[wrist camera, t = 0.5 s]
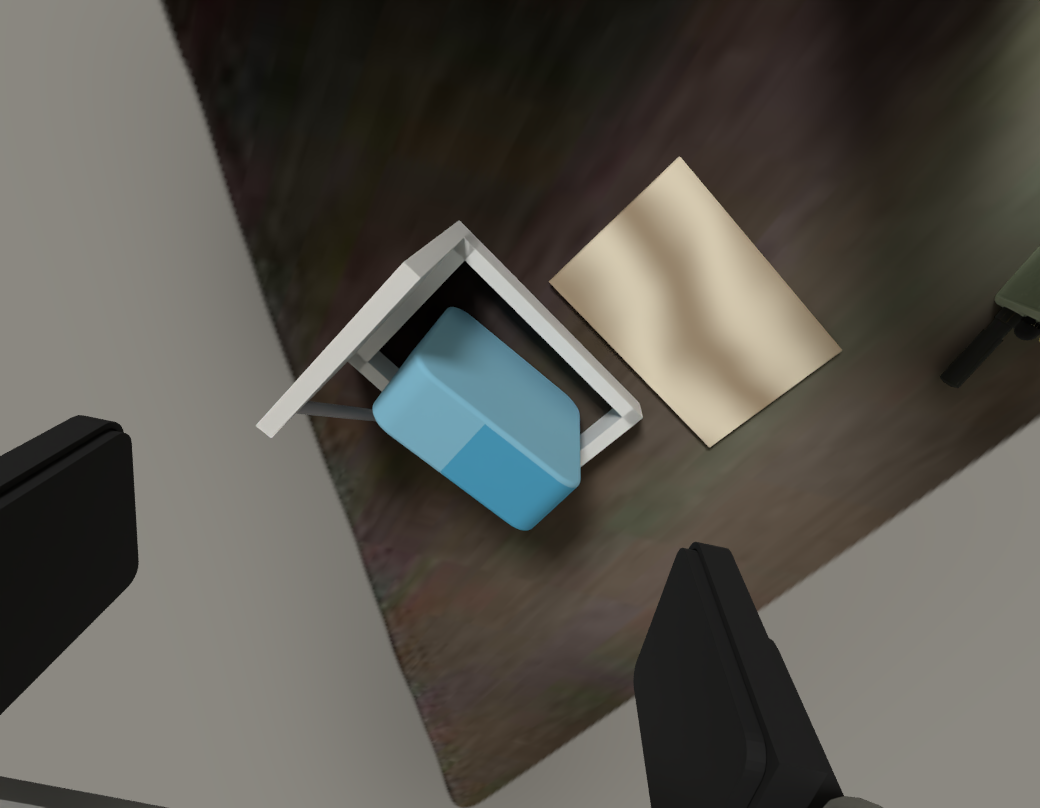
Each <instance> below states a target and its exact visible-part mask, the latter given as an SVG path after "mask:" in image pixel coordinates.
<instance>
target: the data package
mask: <svg viewBox="0 0 1040 808" xmlns="http://www.w3.org/2000/svg"><path fill="white" fill-rule="evenodd" d="M372 410H373V415H374V417H375V420H376V421H377V423H378V424H379V426H380V427H381V428H382V429H383V430H384V431H385V432H386V433H387V434H389V435H390V436H391V437H393V438H394V439H395V440H397V441H398V442H399V443H401V444H402V445H403V446H405V447H406V448H407V449H409V450H410V451H411V452H413V453H414V454H415V455H417V456H418V457H419V458H421V459H422V460H424V461H425V462H426V463H428V464H429V465H430V466H432V467H433V468H434V469H436V470H437V471H438V472H440V473H441V474H442V475H444V476H445V477H446V478H448V479H449V480H450V481H452V482H453V483H454V484H456V485H457V486H458V487H460V488H461V489H462V490H464V491H465V492H466V493H468V494H469V495H470V496H472V497H473V498H475V499H476V500H477V501H479V502H480V503H481V504H483V505H484V506H485V507H487V508H488V509H489V510H491V511H492V512H493V513H495V514H496V515H497V516H499V517H500V518H501V519H503V520H504V521H505V522H507V523H508V524H509V525H511V526H512V527H514V528H516V529H519V530H524V531H526V530H530V529H532V528H533V527H534V526H535V525H537V524H538V523H539V522H540V521H541V520H542V519H543V518H544V517H545V516H546V515H547V514H548V513H550V512H551V511H552V510H553V509H554V508H555V507H556V506H557V505H558V504H559V503H560V502H561V501H563V500H564V499H565V498H566V497H567V496H568V495H569V494H570V493H571V492H572V491H573V490H574V489H576V488H577V487H578V486H579V484H580V481H581V468H580V414H579V410H578V408H577V407H576V405H575V404H574V402H573V401H572V400H571V399H570V398H569V397H568V396H567V395H566V394H565V393H564V392H563V391H561V390H560V389H559V388H558V387H557V386H555V385H554V384H553V383H552V382H551V381H549V380H548V379H547V378H546V377H545V376H543V375H542V374H541V373H540V372H538V371H537V370H536V369H535V368H534V367H532V366H531V365H530V364H529V363H528V362H526V361H525V360H524V359H523V358H521V357H520V356H519V355H518V354H517V353H515V352H514V351H513V350H512V349H511V348H509V347H508V346H507V345H506V344H505V343H503V342H502V341H501V340H500V339H498V338H497V337H496V336H495V335H494V334H492V333H491V332H490V331H489V330H488V329H486V328H485V327H484V326H483V325H481V324H480V323H479V322H478V321H477V320H475V319H474V318H473V317H472V316H471V315H469V314H468V313H466V312H465V311H463V310H461V309H459V308H456V307H449V308H447V309H446V310H445V312H444V313H443V314H442V315H441V317H440V318H439V319H438V320H437V321H436V323H435V324H434V325H433V326H432V328H431V329H430V330H429V331H428V333H427V334H426V335H425V336H424V337H423V339H422V340H421V341H420V342H419V344H418V345H417V346H416V347H415V348H414V350H413V351H412V352H411V354H410V355H409V356H408V358H407V359H406V360H405V362H404V363H403V364H402V366H401V367H400V368H399V370H398V371H397V372H396V374H395V375H394V376H393V378H392V379H391V380H390V382H389V383H388V384H387V386H386V387H385V388H384V390H383V391H382V392H381V394H380V395H379V396H378V398H377V399H376V400H375V402H374V404H373V409H372Z"/></svg>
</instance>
